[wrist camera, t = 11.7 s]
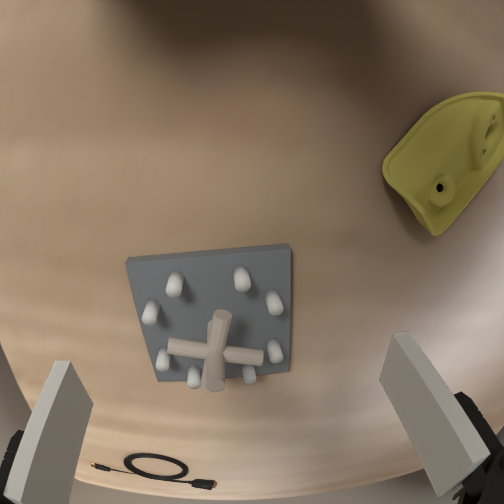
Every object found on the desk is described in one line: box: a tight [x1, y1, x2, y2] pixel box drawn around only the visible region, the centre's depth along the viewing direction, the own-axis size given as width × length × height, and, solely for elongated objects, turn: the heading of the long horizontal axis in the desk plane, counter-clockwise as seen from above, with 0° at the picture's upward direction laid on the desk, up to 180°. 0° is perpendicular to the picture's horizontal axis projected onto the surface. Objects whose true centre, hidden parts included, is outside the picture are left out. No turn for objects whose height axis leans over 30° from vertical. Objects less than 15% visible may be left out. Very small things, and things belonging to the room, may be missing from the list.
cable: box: [91, 453, 216, 490], centre depth 51 cm, size 14×28×2 cm, turn 74°
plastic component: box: [382, 92, 504, 236], centre depth 31 cm, size 20×7×10 cm
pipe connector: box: [167, 309, 264, 392], centre depth 32 cm, size 10×10×10 cm
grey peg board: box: [125, 244, 291, 389], centre depth 36 cm, size 18×18×4 cm
